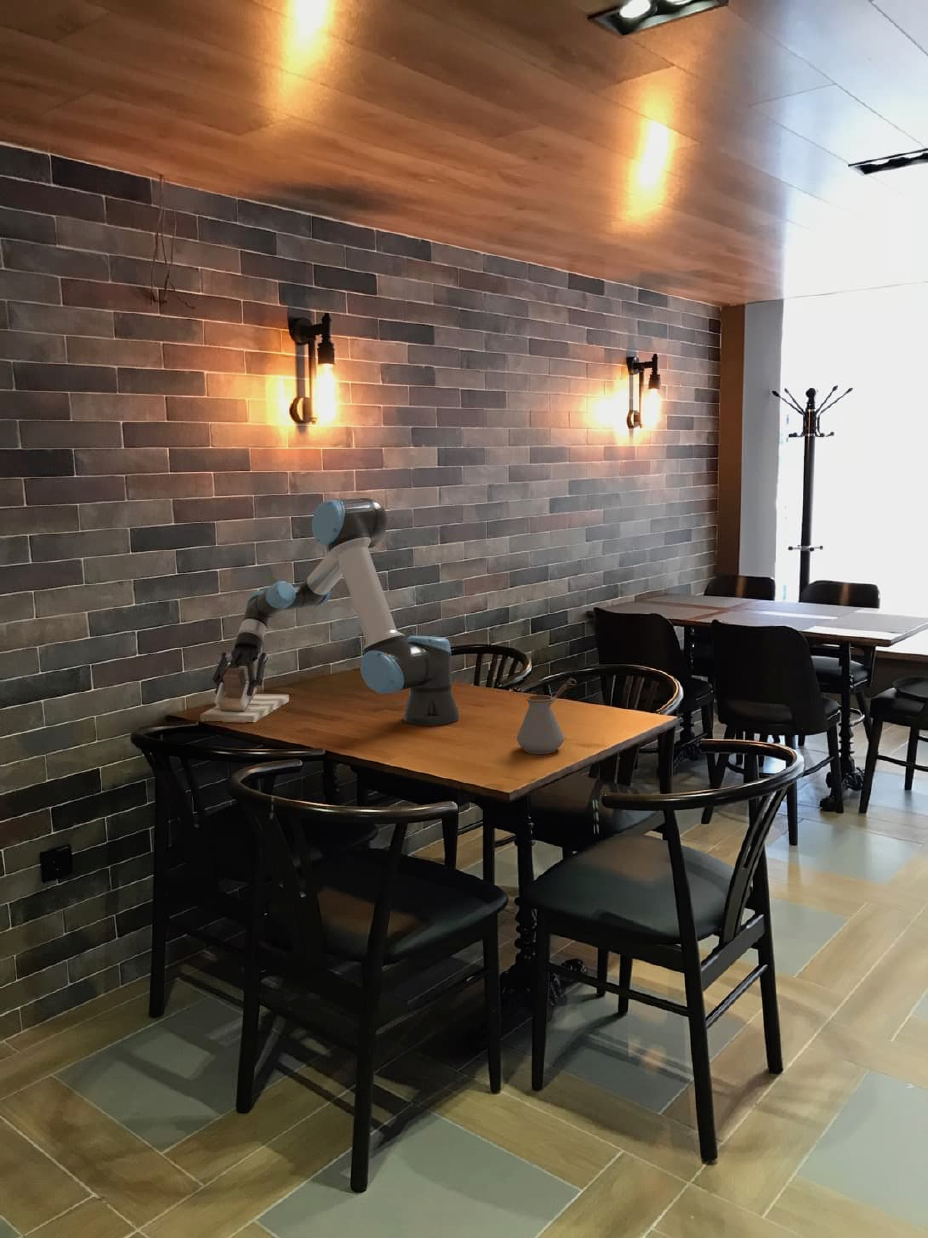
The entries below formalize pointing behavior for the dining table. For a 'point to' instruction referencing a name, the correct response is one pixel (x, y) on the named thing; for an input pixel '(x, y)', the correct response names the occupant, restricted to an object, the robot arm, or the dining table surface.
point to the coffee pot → (541, 725)
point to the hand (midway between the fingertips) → (230, 704)
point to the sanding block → (234, 690)
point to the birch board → (248, 709)
